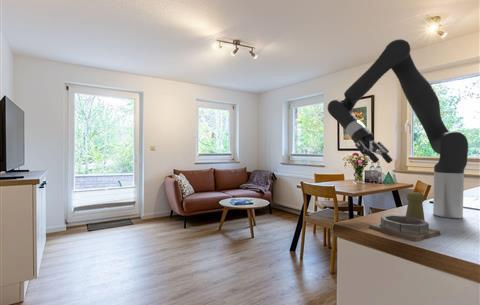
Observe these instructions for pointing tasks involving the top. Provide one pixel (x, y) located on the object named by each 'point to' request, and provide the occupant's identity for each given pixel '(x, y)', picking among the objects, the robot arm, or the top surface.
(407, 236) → the socket base
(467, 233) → the top surface
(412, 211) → the cork
